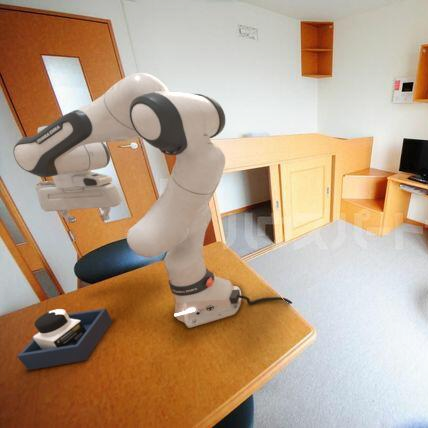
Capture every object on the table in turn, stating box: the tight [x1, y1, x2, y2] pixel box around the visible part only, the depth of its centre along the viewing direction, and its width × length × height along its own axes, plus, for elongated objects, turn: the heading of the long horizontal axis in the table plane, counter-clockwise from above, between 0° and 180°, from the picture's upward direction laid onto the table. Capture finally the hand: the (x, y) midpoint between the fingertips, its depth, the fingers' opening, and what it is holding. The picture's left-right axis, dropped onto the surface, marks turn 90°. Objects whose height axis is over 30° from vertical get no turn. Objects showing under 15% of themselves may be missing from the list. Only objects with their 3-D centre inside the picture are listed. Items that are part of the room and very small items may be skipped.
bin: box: [16, 308, 113, 371], centre depth 71 cm, size 14×14×6 cm
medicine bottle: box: [32, 308, 87, 350], centre depth 68 cm, size 7×7×12 cm
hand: (89, 221), depth 79 cm, fingers open, 8 cm apart
